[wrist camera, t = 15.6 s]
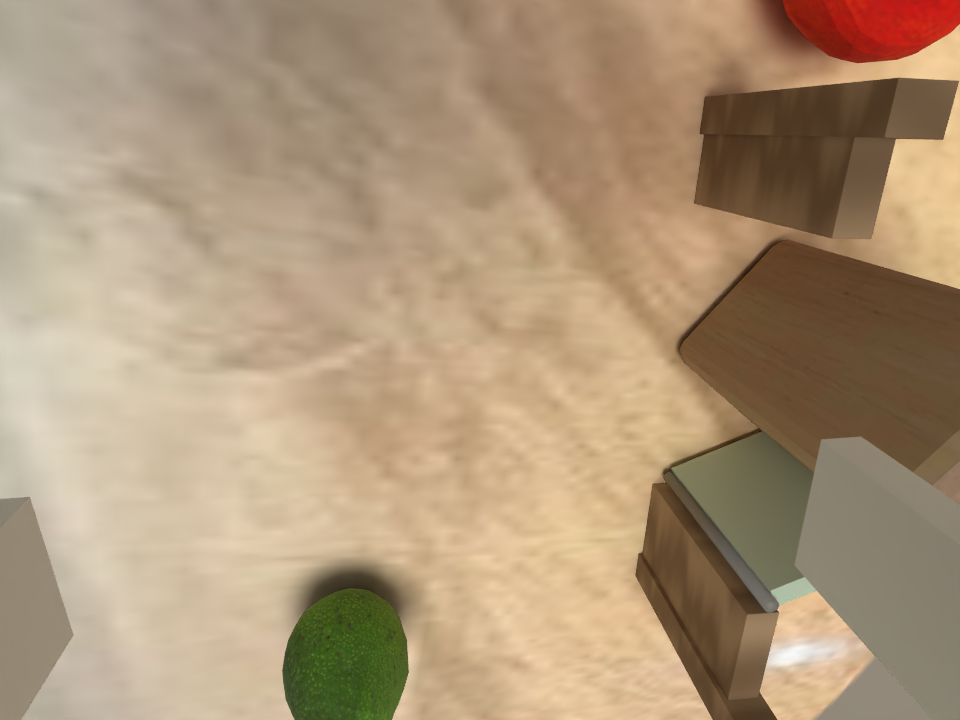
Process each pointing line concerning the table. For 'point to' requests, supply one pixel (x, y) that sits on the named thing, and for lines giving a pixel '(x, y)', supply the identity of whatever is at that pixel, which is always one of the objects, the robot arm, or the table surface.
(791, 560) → the door
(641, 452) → the table surface
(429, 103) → the table surface
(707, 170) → the wall frame
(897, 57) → the apple
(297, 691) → the fruit
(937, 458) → the wooden block
